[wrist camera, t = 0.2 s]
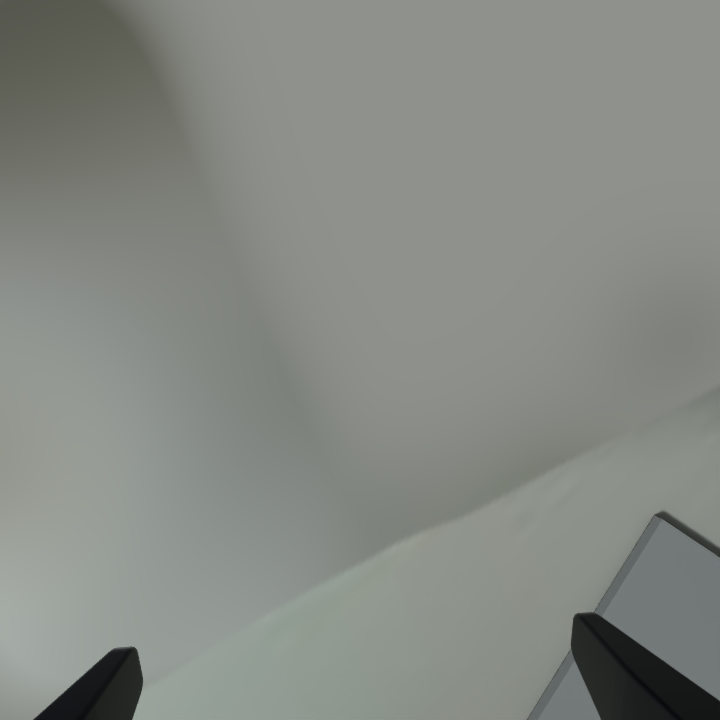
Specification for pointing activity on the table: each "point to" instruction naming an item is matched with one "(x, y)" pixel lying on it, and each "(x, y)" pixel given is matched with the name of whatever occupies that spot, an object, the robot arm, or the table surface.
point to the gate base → (654, 617)
